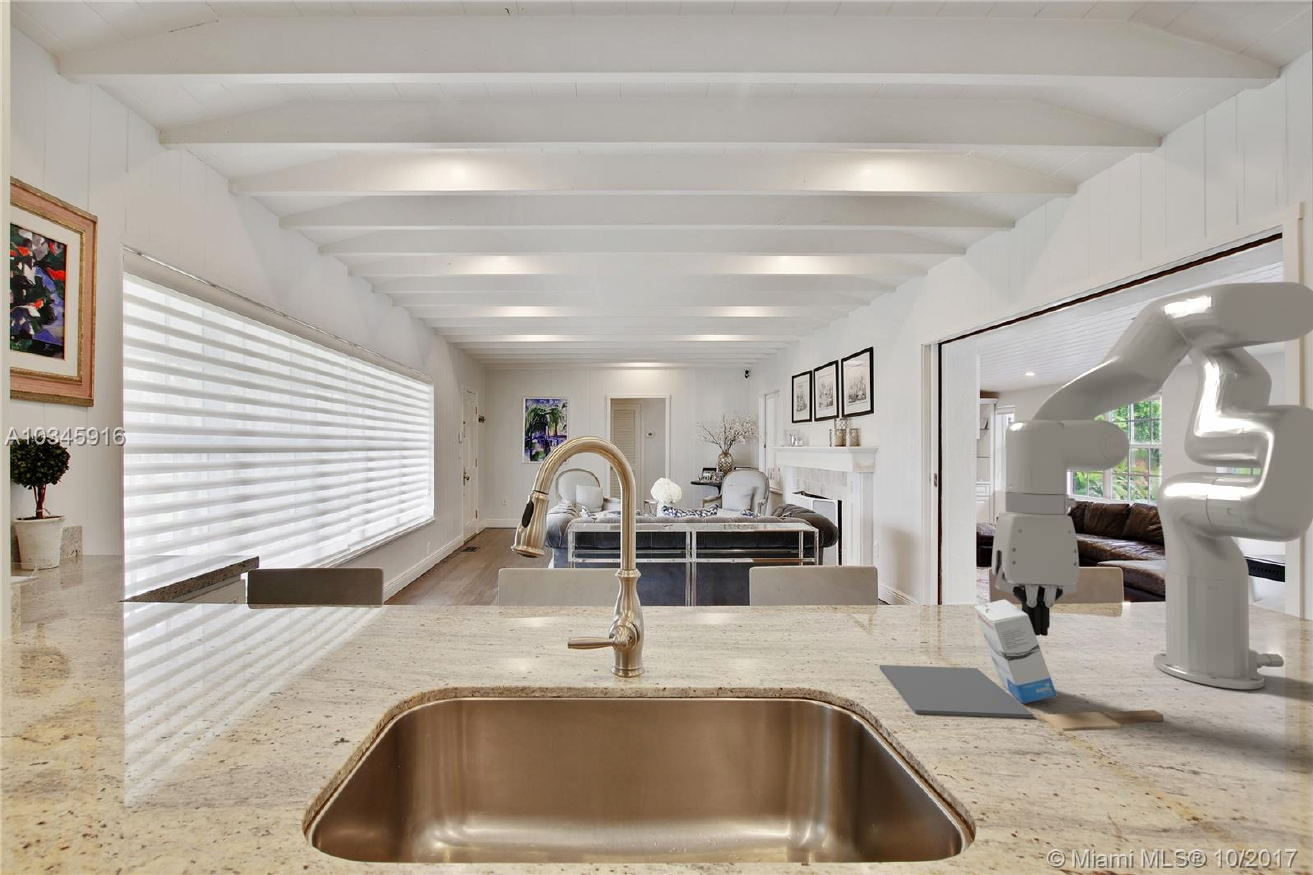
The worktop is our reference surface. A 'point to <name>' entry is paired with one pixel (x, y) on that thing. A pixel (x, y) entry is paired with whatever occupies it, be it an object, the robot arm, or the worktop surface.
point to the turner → (1101, 719)
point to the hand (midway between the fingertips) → (1035, 632)
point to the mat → (952, 692)
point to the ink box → (1015, 651)
